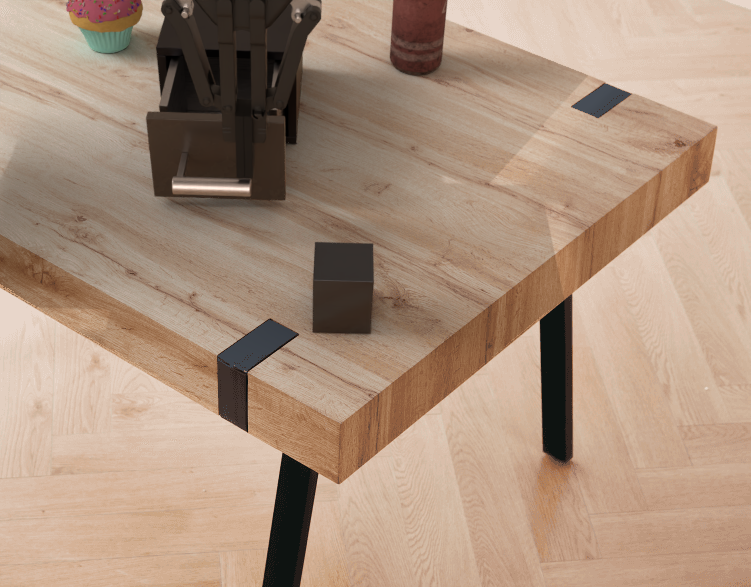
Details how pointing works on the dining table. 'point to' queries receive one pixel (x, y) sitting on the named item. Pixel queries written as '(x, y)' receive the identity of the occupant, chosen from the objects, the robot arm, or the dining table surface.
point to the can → (417, 35)
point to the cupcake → (105, 22)
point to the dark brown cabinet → (209, 36)
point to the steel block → (343, 287)
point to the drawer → (211, 141)
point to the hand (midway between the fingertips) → (245, 168)
